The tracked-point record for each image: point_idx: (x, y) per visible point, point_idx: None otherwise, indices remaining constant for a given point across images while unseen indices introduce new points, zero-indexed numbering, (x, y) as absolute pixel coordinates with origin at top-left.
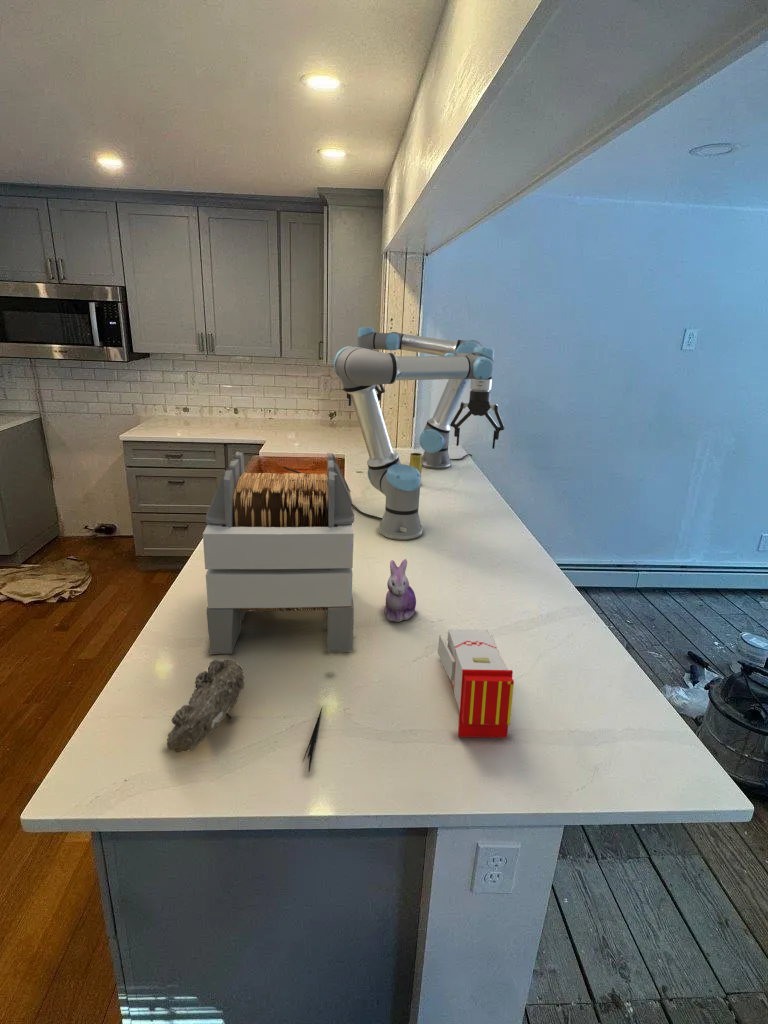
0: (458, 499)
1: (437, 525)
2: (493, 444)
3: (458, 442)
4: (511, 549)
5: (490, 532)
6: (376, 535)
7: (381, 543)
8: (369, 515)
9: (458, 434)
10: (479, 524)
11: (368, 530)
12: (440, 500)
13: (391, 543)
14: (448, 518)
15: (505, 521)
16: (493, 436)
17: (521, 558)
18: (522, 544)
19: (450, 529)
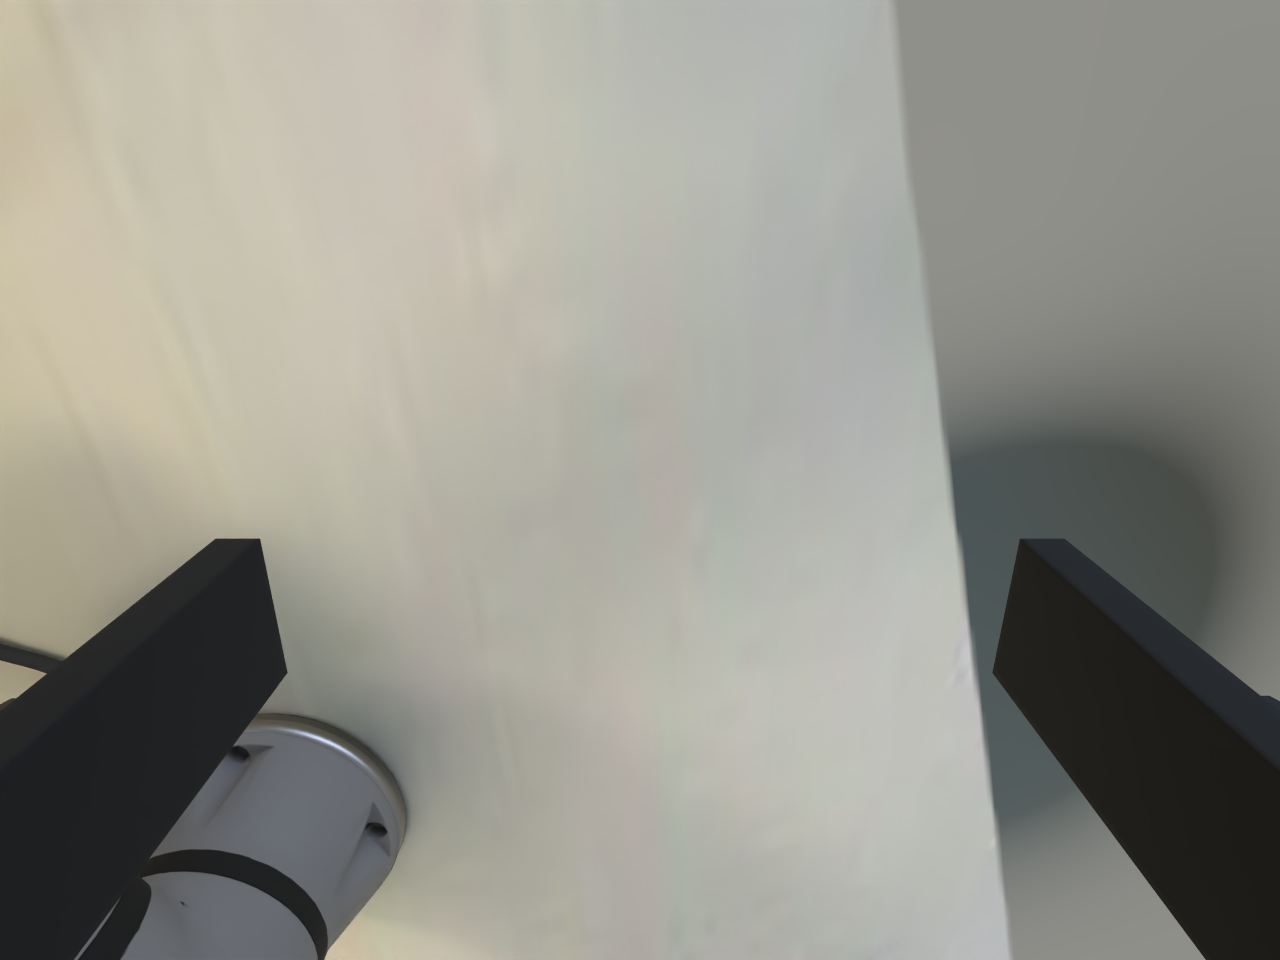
0: (522, 31)
1: (461, 664)
2: (1054, 734)
3: (248, 720)
4: (871, 851)
5: (779, 681)
6: None
7: None
8: (15, 663)
9: (107, 882)
10: (715, 579)
11: None
12: (369, 124)
13: None
14: (507, 533)
15: (895, 477)
16: (1175, 795)
17: (903, 921)
18: (939, 786)
19: (545, 700)
